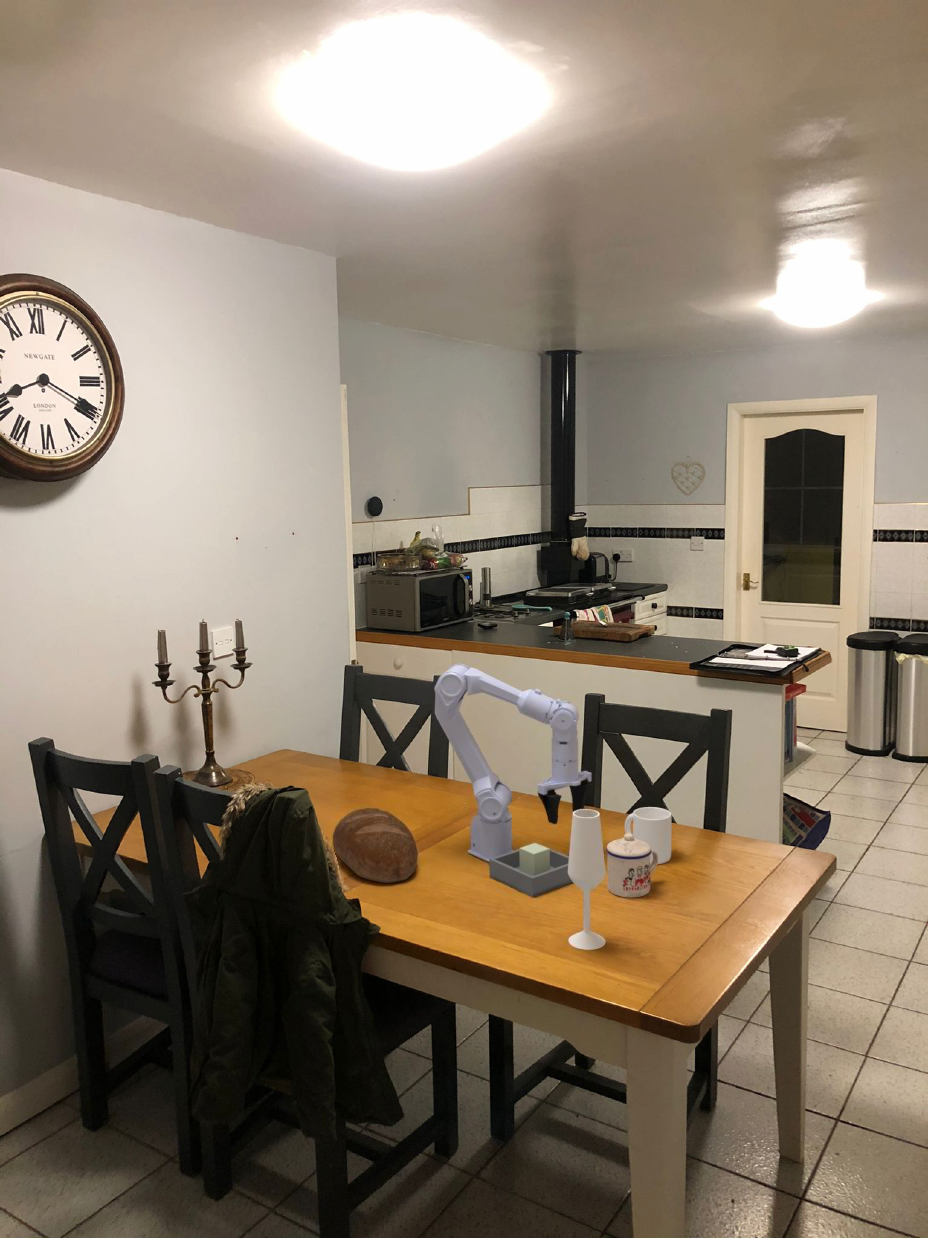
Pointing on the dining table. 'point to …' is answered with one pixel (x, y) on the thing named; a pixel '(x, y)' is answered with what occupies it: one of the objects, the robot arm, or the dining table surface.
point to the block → (534, 859)
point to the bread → (376, 845)
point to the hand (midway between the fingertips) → (565, 818)
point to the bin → (510, 875)
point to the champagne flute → (586, 869)
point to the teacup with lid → (629, 866)
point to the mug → (652, 830)
